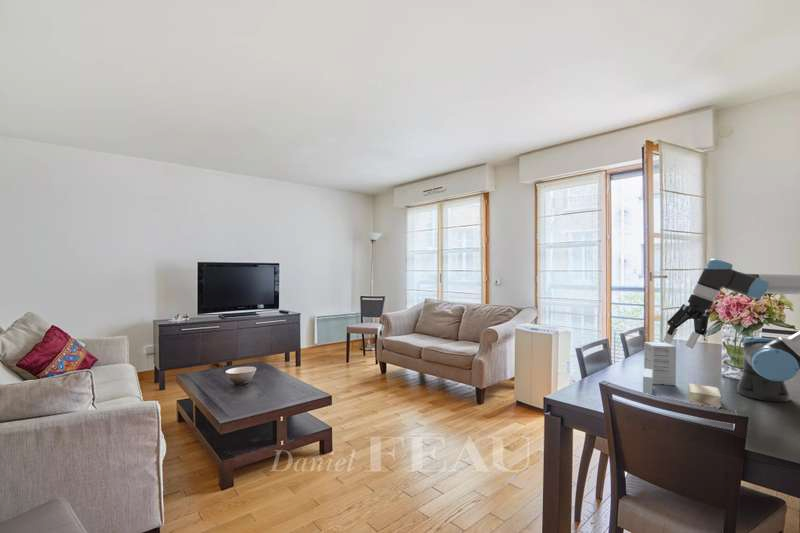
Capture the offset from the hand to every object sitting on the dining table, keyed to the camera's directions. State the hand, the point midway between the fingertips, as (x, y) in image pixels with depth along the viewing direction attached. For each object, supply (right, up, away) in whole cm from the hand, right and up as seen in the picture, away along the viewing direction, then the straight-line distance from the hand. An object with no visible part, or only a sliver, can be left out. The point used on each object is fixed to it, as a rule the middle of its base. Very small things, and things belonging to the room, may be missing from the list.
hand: (678, 344), depth 158 cm
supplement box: (+2, -19, +14) cm, 24 cm away
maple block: (+2, -20, -11) cm, 23 cm away
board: (-12, -19, 0) cm, 23 cm away
